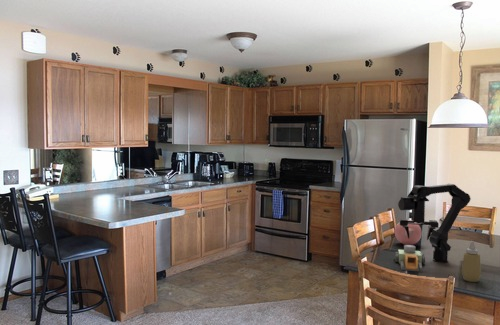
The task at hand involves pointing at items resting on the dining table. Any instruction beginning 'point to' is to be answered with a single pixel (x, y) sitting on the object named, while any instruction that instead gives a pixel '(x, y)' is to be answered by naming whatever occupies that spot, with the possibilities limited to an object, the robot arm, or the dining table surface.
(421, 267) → the chute bracket
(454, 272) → the dining table surface
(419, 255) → the mower deck
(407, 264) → the chute
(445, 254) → the robot arm
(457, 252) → the dining table surface
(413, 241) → the pink rounded piece
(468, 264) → the squeeze bottle
